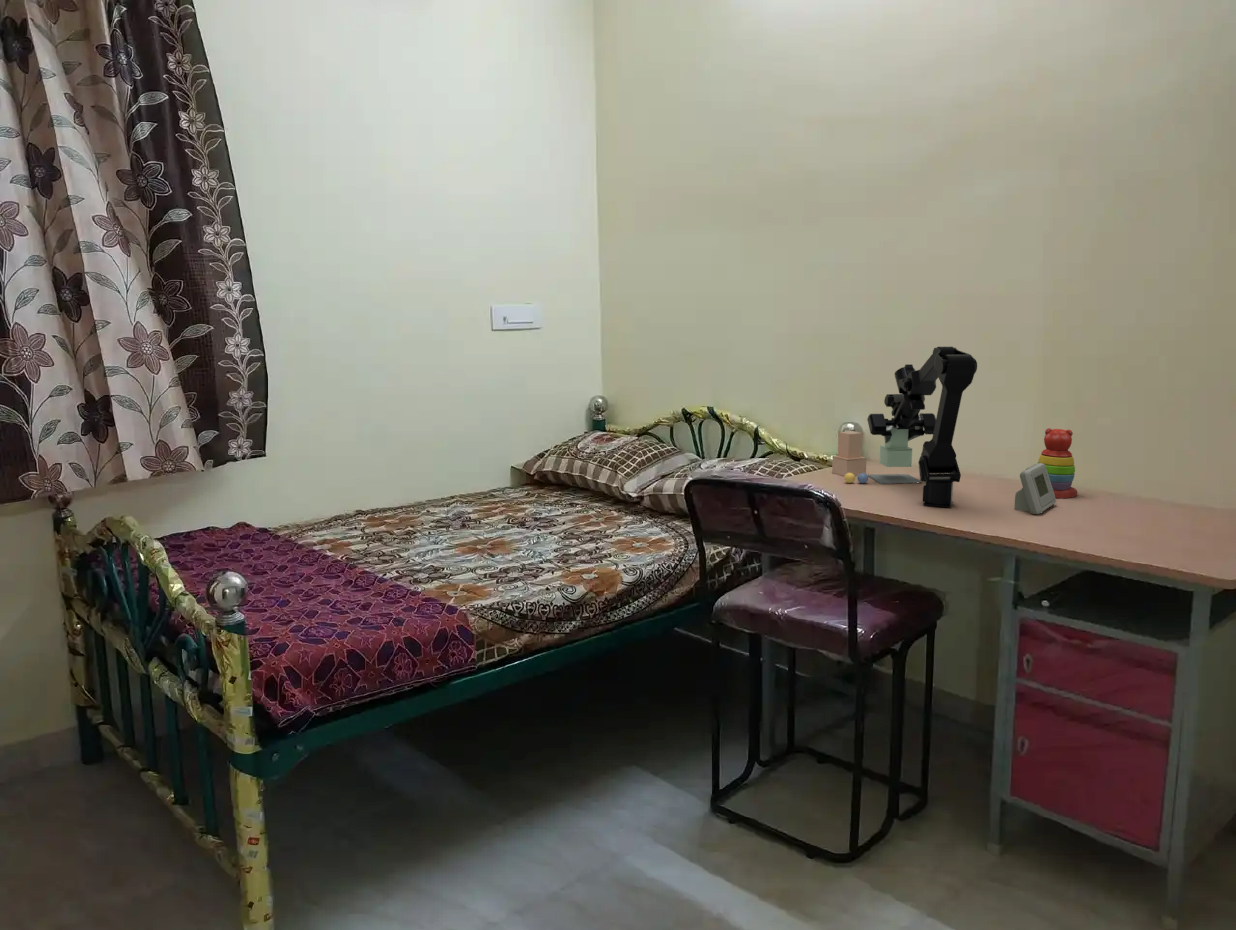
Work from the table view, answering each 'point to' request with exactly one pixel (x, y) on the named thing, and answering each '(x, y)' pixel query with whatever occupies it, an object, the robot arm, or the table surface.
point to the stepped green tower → (896, 450)
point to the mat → (893, 478)
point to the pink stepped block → (849, 454)
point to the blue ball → (862, 478)
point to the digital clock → (1035, 490)
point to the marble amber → (849, 477)
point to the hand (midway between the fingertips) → (894, 441)
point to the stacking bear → (1059, 462)
